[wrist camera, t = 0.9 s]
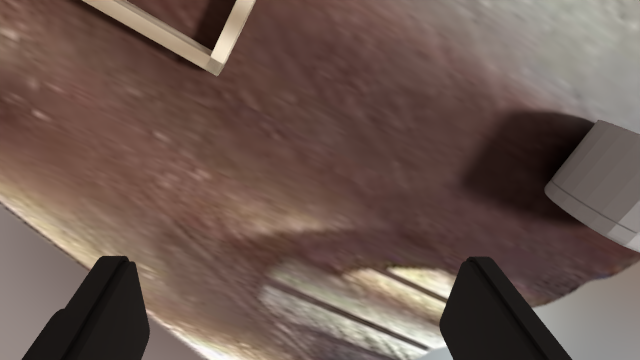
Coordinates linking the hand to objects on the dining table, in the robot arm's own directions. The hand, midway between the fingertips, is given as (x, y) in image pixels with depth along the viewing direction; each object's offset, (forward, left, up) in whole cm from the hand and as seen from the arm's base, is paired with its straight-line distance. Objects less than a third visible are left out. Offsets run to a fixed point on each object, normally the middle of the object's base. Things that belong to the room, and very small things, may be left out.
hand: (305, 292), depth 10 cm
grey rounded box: (-11, +40, -27) cm, 50 cm away
